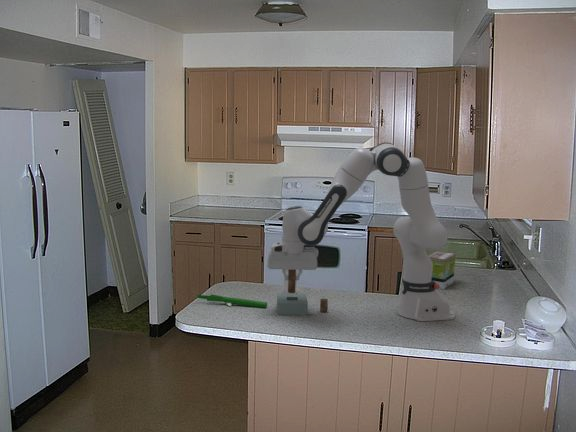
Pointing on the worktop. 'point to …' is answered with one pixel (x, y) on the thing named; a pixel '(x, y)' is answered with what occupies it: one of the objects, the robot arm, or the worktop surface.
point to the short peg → (323, 305)
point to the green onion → (234, 301)
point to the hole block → (292, 304)
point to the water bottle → (285, 286)
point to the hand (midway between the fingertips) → (291, 279)
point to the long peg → (291, 281)
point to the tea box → (442, 268)
